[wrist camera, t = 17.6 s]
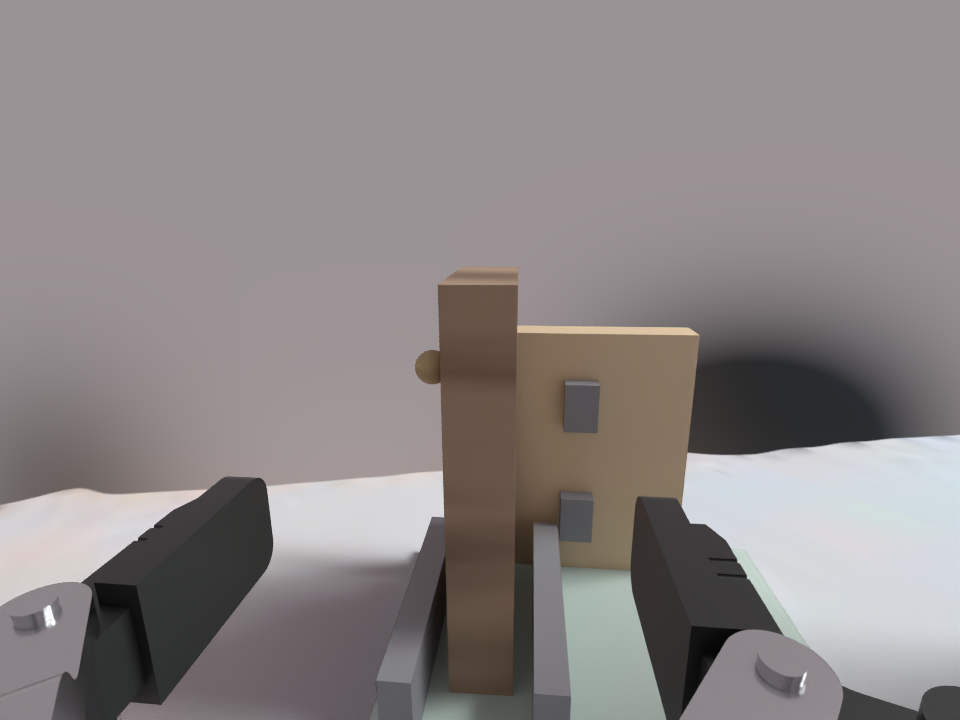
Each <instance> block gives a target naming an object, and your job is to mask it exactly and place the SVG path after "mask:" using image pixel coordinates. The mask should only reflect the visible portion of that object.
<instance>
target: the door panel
mask: <svg viewBox="0 0 960 720" xmlns="http://www.w3.org/2000/svg"><path fill="white" fill-rule="evenodd" d="M438 306H439V339H440V340H439V342H440V352H439V351H436V350H429V351H426V352H424V353H422V354H421V355H420V356H419V357H418V359H417V361H416V364H415V371H416V374H417V376H418V377H419V378H420V379H421V380H422V381H423V382H425V383H428V384H437V383H440V382H441V413H442V451H443V487H444V523H445V559H446V595H447V631H448V667H449V692H454V693H470V694H487V695H503V696H513V638H514V564H515V482H516V399H517V316H518V314H517V313H518V267H461V268H460V269H459V270H457V271H456V272H455V273H453V274H452V275H451V276H449V277H448V278H446V279H445V280H444V281H442V282H441V283H440V284H438Z"/></svg>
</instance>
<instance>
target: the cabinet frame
mask: <svg viewBox="0 0 960 720" xmlns="http://www.w3.org/2000/svg"><path fill="white" fill-rule="evenodd" d="M698 345H699V335H698V334H697V333H695V332H694V331H692V330H691V329H689V328H667V327H666V328H664V327H586V326H585V327H584V326H580V327H579V326H517V399H516V482H515V564H514V638H513V696H503V695H487V694H470V693H454V692H449V667H448V631H447V595H446V559H445V523H444V518H442V517H432V519H431V522H430V524H429V527H428V530H427V533H426V536H425V539H424V542H423V545H422V548H421V551H420V554H419V556H418V559H417V562H416V565H415V568H414V571H413V574H412V577H411V580H410V583H409V586H408V588H407V591H406V594H405V597H404V600H403V603H402V606H401V609H400V612H399V615H398V618H397V620H396V623H395V626H394V629H393V632H392V635H391V638H390V641H389V644H388V647H387V650H386V652H385V655H384V658H383V661H382V664H381V667H380V670H379V673H378V676H377V679H376V690H377V698H376V701H375V704H374V707H373V710H372V713H371V716H370V719H369V720H666V716H665V713H664V709H663V705H662V702H661V698H660V694H659V690H658V687H657V683H656V679H655V675H654V672H653V668H652V664H651V661H650V657H649V653H648V649H647V646H646V642H645V638H644V634H643V631H642V627H641V623H640V620H639V616H638V612H637V608H636V605H635V601H634V597H633V593H632V586H631V572H630V566H631V551H632V539H633V526H634V514H635V504H636V499H637V497H638V496H646V497H668V498H676V499H677V500H678V501H679V503H680V505H681V507H682V497H683V488H684V478H685V469H686V459H687V449H688V440H689V430H690V421H691V412H692V402H693V392H694V383H695V373H696V364H697V354H698ZM731 550H732V551H733V553H734V555H735V556H736V558H737V562H738V563H740V564H741V566H742V568H743V569H744V571H745V573H746V574H747V579H750V581H751V583H752V584H753V586H754V587H755V589H756V591H757V592H758V594H759V596H760V597H761V599H762V601H763V602H764V604H765V605H766V607H767V609H768V610H769V612H770V614H771V615H772V617H773V619H774V620H775V622H776V623H777V625H778V627H779V628H780V630H781V632H782V633H783V635H784V636H786V637H789V638H791V639H794V640H796V641H797V642H799V643H801V644H803V645H805V646H806V647H808V648H809V646H808V645H807V643H806V642H805V640H804V639H803V637H802V636H801V634H800V632H799V631H798V629H797V628H796V626H795V625H794V623H793V622H792V620H791V619H790V617H789V616H788V614H787V613H786V611H785V610H784V608H783V606H782V605H781V603H780V602H779V600H778V599H777V597H776V596H775V594H774V593H773V591H772V590H771V588H770V587H769V585H768V583H767V582H766V580H765V579H764V577H763V576H762V574H761V573H760V571H759V570H758V568H757V567H756V565H755V564H754V562H753V561H752V559H751V557H750V556H749V554H748V553H747V551H746V550H738V549H731ZM809 649H810V648H809Z"/></svg>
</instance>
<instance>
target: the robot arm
mask: <svg viewBox="0 0 960 720" xmlns="http://www.w3.org/2000/svg"><path fill="white" fill-rule="evenodd" d="M272 551H273V535H272V527H271V519H270V511H269V503H268V495H267V488H266V484H265V482H264V481H263V480H262V479H261V478H249V477H224V478H222V479H221V480H220V481H219V482H217V483H216V484H215V485H213V486H212V487H211V488H210V489H209V490H207V491H206V492H205V493H204V494H202V495H201V496H200V497H199V498H197V499H195V500H193V501H191V502H189V503H187V504H185V505H183V506H181V507H179V508H177V509H175V510H173V511H172V512H170V513H169V514H168V515H166V516H165V517H164V518H163V519H161V520H160V521H159V522H158V523H156V524H155V525H154V528H150V529H149V530H147V531H146V532H145V533H144V534H142V535H141V536H140V537H139V538H138V541H133V542H132V543H131V544H130V545H128V546H127V547H126V548H125V549H123V550H122V551H121V552H120V553H118V554H117V555H116V556H114V557H113V558H112V559H111V560H109V561H108V562H107V563H106V564H104V565H103V566H102V567H100V568H99V569H98V570H97V571H95V572H94V573H93V574H92V575H90V576H89V577H88V578H87V579H85V580H84V581H83V582H81V583H78V582H65V583H57V584H52V585H48V586H44V587H41V588H38V589H35V590H32V591H30V592H27V593H25V594H22V595H20V596H18V597H16V598H14V599H12V600H10V601H9V602H7V603H5V604H4V605H2V606H0V720H122V719H121V712H122V711H123V710H124V709H125V708H126V706H127V705H128V704H129V703H130V702H136V703H147V704H157V705H161V704H162V703H163V702H164V700H165V699H166V698H167V696H168V695H169V694H170V693H171V691H172V690H173V689H174V687H175V686H176V685H177V684H178V682H179V681H180V680H181V679H182V677H183V676H184V675H185V673H186V672H187V671H188V670H189V668H190V667H191V666H192V664H193V663H194V662H195V661H196V659H197V658H198V657H199V655H200V654H201V653H202V652H203V650H204V649H205V648H206V646H207V645H208V644H209V643H210V641H211V640H212V639H213V637H214V636H215V635H216V634H217V632H218V631H219V630H220V628H221V627H222V626H223V625H224V623H225V622H226V621H227V619H228V618H229V617H230V616H231V614H232V613H233V612H234V610H235V609H236V608H237V607H238V605H239V604H240V603H241V601H242V600H243V599H244V598H245V596H246V595H247V594H248V592H249V591H250V590H251V589H252V587H253V586H254V585H255V583H256V582H257V581H258V580H259V578H260V577H261V576H262V574H263V573H264V572H265V570H266V569H267V567H268V565H269V562H270V559H271V556H272ZM630 572H631V586H632V593H633V597H634V601H635V605H636V608H637V612H638V616H639V620H640V623H641V627H642V631H643V634H644V638H645V642H646V646H647V649H648V653H649V657H650V661H651V664H652V668H653V672H654V675H655V679H656V683H657V687H658V690H659V694H660V698H661V702H662V705H663V709H664V713H665V716H666V720H960V687H957V686H938V687H934V688H931V689H929V690H928V691H927V692H925V694H924V695H923V697H922V700H921V703H920V707H919V711H915V710H911V709H908V708H905V707H902V706H899V705H895V704H892V703H889V702H886V701H883V700H880V699H876V698H873V697H870V696H867V695H864V694H861V693H858V692H855V691H853V690H850V689H848V688H846V687H844V686H842V685H841V683H840V681H839V678H838V677H837V675H836V674H835V672H834V671H833V669H832V668H831V667H830V666H829V665H828V664H827V663H826V662H825V661H824V660H823V659H822V658H821V657H820V656H819V655H818V654H816V653H815V652H814V651H812V650H811V649H809V648H808V647H806V646H805V645H803V644H801V643H799V642H797V641H796V640H794V639H791V638H789V637H786V636H784V635H783V633H782V632H781V630H780V628H779V627H778V625H777V623H776V622H775V620H774V619H773V617H772V615H771V614H770V612H769V610H768V609H767V607H766V605H765V604H764V602H763V601H762V599H761V597H760V596H759V594H758V592H757V591H756V589H755V587H754V586H753V584H752V583H751V581H750V579H747V574H746V573H745V571H744V569H743V568H742V566H741V564H740V563H738V562H737V558H736V556H735V555H734V553H733V551H732V550H731V548H730V546H729V545H728V543H727V542H726V540H724V539H723V538H722V537H721V536H719V535H718V534H717V533H716V532H714V531H713V530H712V529H711V528H709V527H708V526H707V525H705V524H690V522H689V520H688V519H687V517H686V515H685V513H684V511H683V509H682V507H681V505H680V503H679V501H678V500H677V499H676V498H668V497H646V496H638V497H637V499H636V504H635V514H634V526H633V539H632V551H631V566H630Z"/></svg>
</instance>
